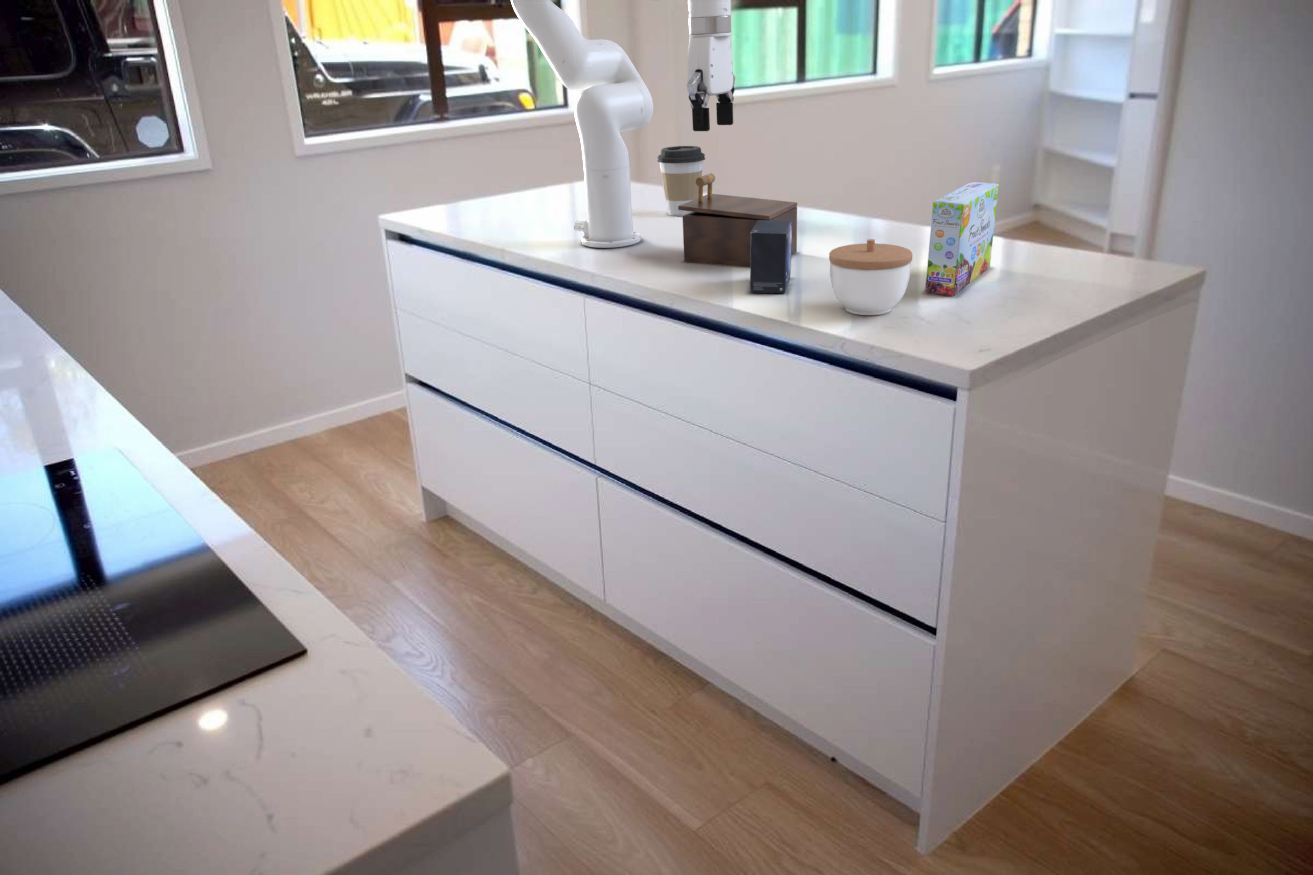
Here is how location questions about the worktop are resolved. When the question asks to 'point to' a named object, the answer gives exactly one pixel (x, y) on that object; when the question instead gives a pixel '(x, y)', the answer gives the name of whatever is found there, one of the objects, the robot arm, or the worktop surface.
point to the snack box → (961, 237)
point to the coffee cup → (680, 175)
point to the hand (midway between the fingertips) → (713, 128)
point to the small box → (770, 256)
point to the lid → (734, 203)
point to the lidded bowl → (869, 276)
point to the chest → (725, 237)
